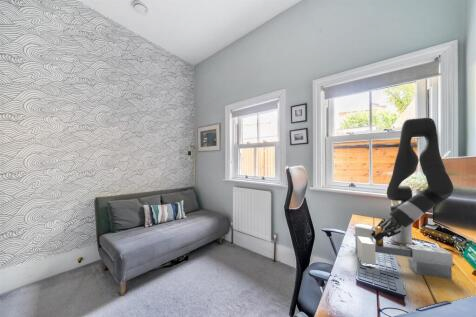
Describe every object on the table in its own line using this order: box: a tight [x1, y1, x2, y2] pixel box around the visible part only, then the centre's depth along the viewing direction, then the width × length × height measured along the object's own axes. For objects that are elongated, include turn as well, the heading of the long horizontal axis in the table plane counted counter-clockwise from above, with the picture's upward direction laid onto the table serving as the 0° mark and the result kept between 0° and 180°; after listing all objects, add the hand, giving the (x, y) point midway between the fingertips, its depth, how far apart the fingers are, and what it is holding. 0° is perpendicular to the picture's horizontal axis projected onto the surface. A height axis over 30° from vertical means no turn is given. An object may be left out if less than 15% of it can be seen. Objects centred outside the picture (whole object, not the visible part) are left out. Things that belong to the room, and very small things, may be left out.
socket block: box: [357, 236, 377, 266], centre depth 85 cm, size 8×5×10 cm, turn 160°
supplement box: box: [354, 223, 374, 251], centre depth 98 cm, size 7×7×13 cm
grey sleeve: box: [405, 244, 454, 280], centre depth 77 cm, size 6×13×10 cm, turn 70°
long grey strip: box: [373, 225, 412, 258], centre depth 82 cm, size 3×20×11 cm, turn 70°
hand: (373, 237), depth 84 cm, fingers closed on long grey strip, 3 cm apart
